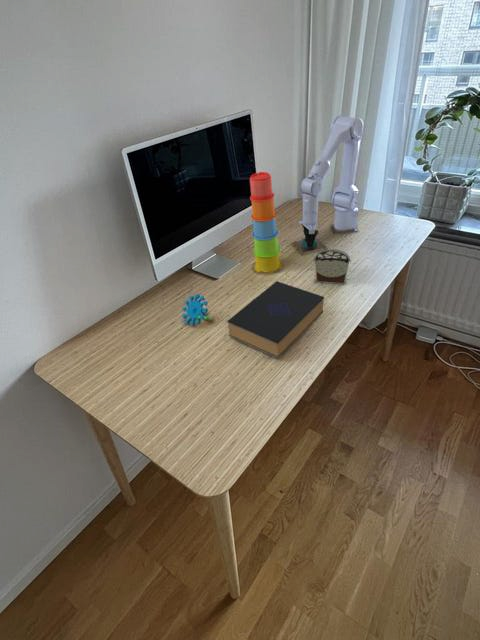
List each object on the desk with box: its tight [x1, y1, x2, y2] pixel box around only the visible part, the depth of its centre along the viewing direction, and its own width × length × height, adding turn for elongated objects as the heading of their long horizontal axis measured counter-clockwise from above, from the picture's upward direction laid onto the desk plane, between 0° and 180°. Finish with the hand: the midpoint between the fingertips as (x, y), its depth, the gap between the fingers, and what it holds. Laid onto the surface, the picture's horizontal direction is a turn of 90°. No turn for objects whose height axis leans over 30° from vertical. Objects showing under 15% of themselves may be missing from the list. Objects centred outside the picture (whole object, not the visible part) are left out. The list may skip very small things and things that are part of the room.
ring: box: [301, 236, 318, 248], centre depth 153 cm, size 6×6×2 cm
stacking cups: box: [249, 171, 282, 275], centre depth 133 cm, size 10×10×35 cm
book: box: [226, 280, 325, 360], centre depth 113 cm, size 17×25×7 cm
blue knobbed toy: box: [181, 293, 213, 327], centre depth 120 cm, size 11×6×10 cm
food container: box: [312, 248, 352, 285], centre depth 131 cm, size 12×6×10 cm, turn 74°
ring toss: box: [292, 238, 327, 254], centre depth 153 cm, size 10×10×5 cm
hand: (309, 242), depth 153 cm, fingers closed on ring, 5 cm apart
